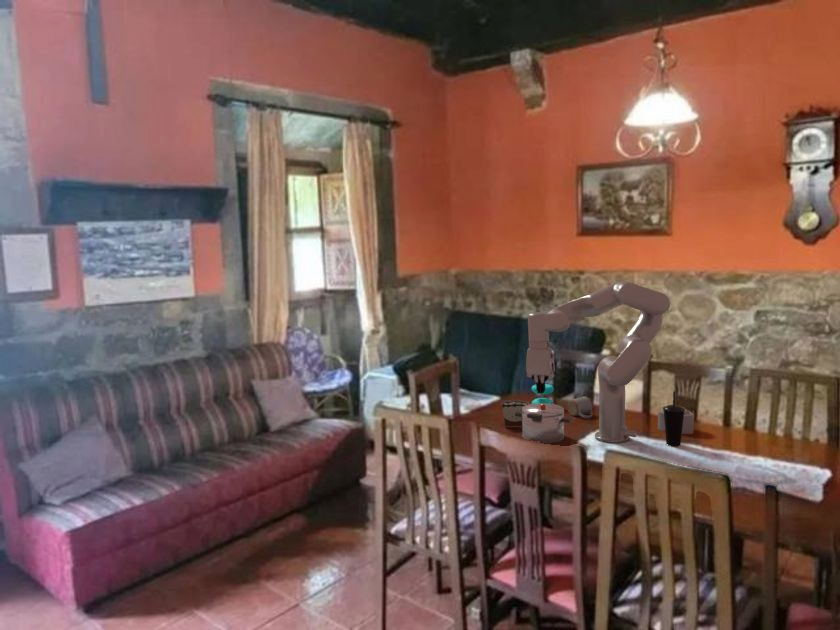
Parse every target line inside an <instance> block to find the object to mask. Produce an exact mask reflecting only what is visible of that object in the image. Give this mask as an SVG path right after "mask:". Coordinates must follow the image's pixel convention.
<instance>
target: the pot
mask: <svg viewBox="0 0 840 630" xmlns="http://www.w3.org/2000/svg"><path fill="white" fill-rule="evenodd" d="M515 416H517V417H522V427H521V429H522V431H521V432H522V433H521V434H522V435H521V437H523V438H524V440H525V439H527V440H533V441H540V442H543V443H542V444H555V443H559V442H562V441H563V440H564V439H565V424H566V423H567V424H570V423H571V422H572V421H573V418H572V417H570V416H569V417H568V416H565V412H564V413H563V414H562V415H560V416H556V417H545V418H543V417H542V418H541V419H533V418H527V415H525V414H523V413H522V412H516V413H515ZM523 438H522V439H523ZM527 440H526V441H527Z"/></svg>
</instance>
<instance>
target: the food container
mask: <svg viewBox="0 0 840 630" xmlns="http://www.w3.org/2000/svg"><path fill="white" fill-rule="evenodd" d="M529 404H530V402H529V401H526V400H522V399H509V400H504V401H502V402H501V405H500V408H501V409H502V416H503V424H504V428H522V417H517V416H515V413H516V412H522V407H523V406H526V405H529Z"/></svg>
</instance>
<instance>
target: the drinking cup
mask: <svg viewBox="0 0 840 630" xmlns="http://www.w3.org/2000/svg"><path fill="white" fill-rule="evenodd" d="M672 398H673V399H672V404H669V405H665V406H663V407H662V409H663V410H664V420H665V431H664V432H665V444H666V445H667V444H668V445H667V446H669V445H671V446H670V447H680V446H681V443H682V442H681V441H682V435H683V434H682V427H683V418H684V411H685V409H686V408H685V407H684V406H680V405H678V404H676V390H673V393H672ZM683 407H684V408H683Z"/></svg>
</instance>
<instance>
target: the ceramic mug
mask: <svg viewBox="0 0 840 630" xmlns="http://www.w3.org/2000/svg"><path fill="white" fill-rule="evenodd" d="M567 410H568V412H569V414H570V415H571V416H573V417H579V416H580V417H581V418H583V419H591V418H592V417H593V411H592V410H593V404H592V401H591V400H590V399H589V398H588V397H587V396H579V397H577V398H573V399H571V400H569V401H568V403H567ZM589 414H590V415H589Z"/></svg>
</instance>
